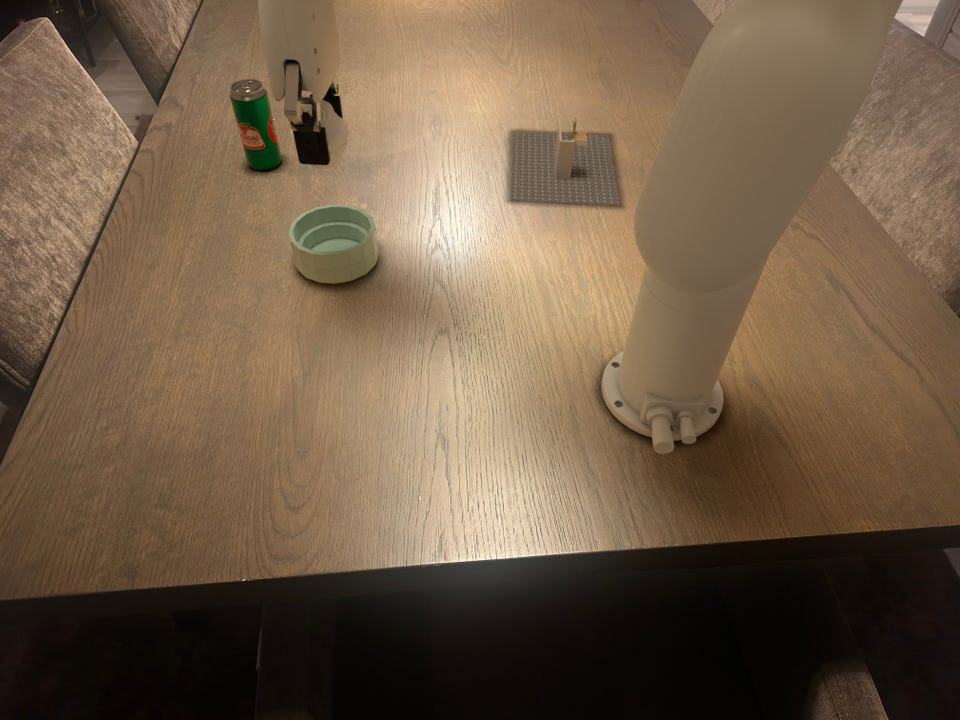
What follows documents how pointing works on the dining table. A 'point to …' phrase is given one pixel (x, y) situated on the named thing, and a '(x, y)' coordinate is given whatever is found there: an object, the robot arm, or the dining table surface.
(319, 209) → the bowl
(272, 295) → the dining table surface
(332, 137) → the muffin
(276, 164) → the soda can
